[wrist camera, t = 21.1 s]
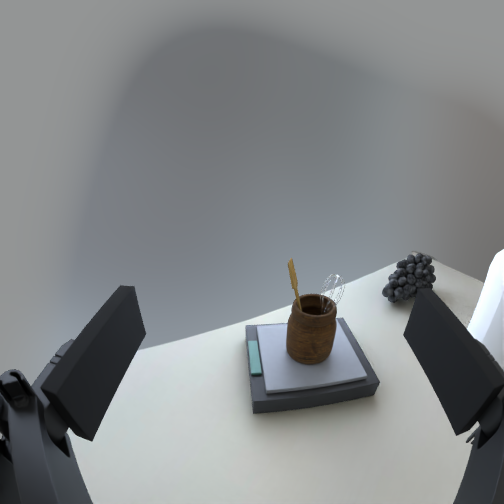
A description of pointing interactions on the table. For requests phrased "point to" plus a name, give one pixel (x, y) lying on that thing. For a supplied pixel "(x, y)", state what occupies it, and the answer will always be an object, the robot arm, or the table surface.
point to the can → (491, 311)
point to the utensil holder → (310, 325)
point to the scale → (305, 371)
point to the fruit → (410, 278)
